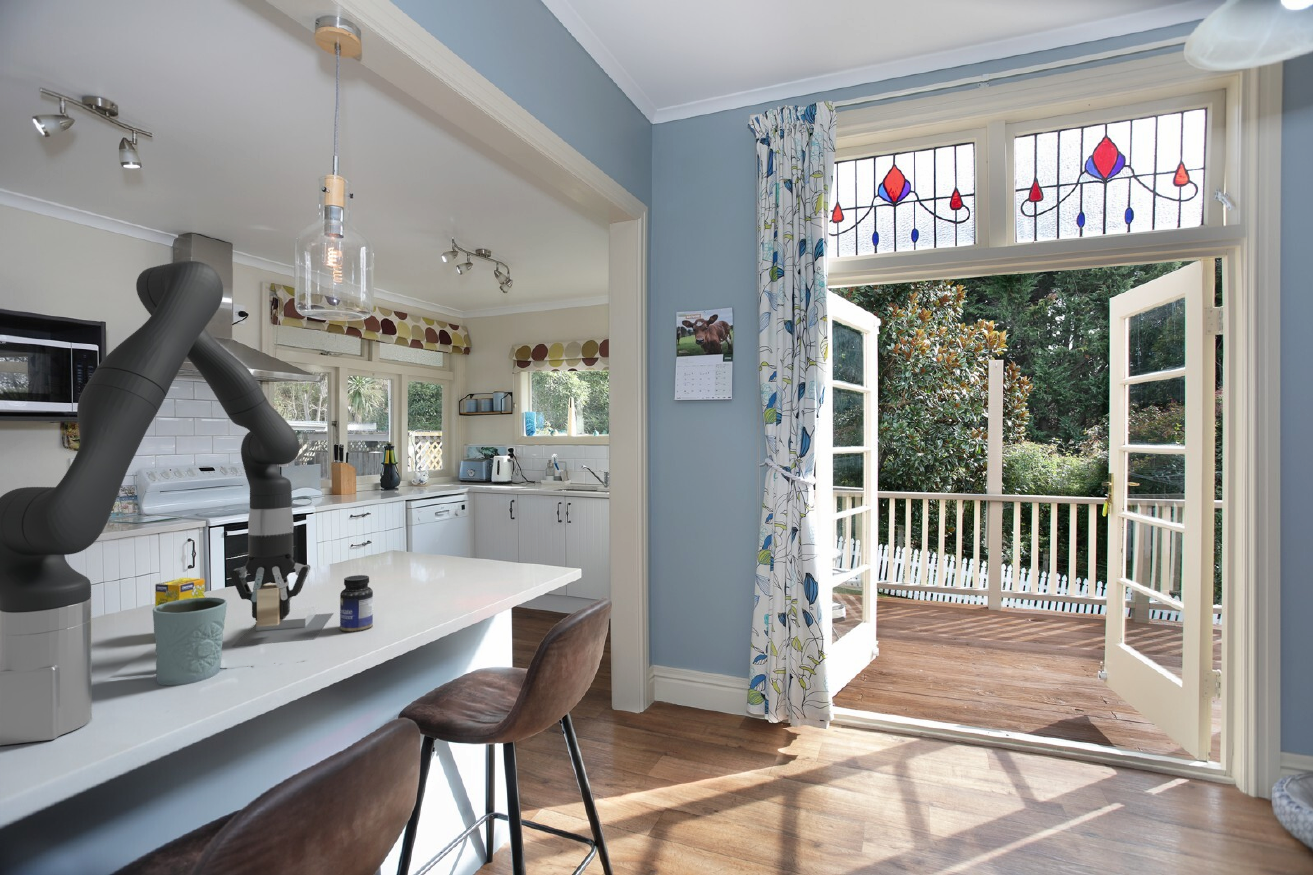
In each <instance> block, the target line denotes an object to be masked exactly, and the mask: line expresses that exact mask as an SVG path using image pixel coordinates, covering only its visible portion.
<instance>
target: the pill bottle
mask: <svg viewBox="0 0 1313 875" xmlns="http://www.w3.org/2000/svg"><path fill="white" fill-rule="evenodd" d="M369 583H370V577H369V576H368V575H365V574H361V575H360V574H357V575H350V576H347V577H344V578H343V585H344V586H345V587H344V589H343V590H342V591H341V592H340V594H339V604H340V605H339V631H340V632H341V633H346V634H348V633H349V634H351V633H359V632H365V631H368V630H370V629H372V628H374V625H373V624H374V620H373V618H374V616H373V615H374V614H373V613H374V612H373V611H374V610H373V608H374V607H373V606H374V604H373V603H374V600H373V598H374V590H373V588H371V587H369Z"/></svg>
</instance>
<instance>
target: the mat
mask: <svg viewBox="0 0 1313 875" xmlns="http://www.w3.org/2000/svg"><path fill="white" fill-rule="evenodd" d="M333 615H334V612H331V613H319V614H316V613H315V616H314V618H313V619H312V620H311V621H310V622H309V624H308V625H307V626H306V627H302V628H289V629H276V630H263V631H256V624H255V625H253V626H252V627H251V628H250V629H249V630H248V631H247V632H246V633H245V634H244V635H243V636H241V637H240V638H239V639H238V640H237V641H236V642H234V643H233V644H232V647H241V646H243V647H244V646H251V645H252V646H254V645H266V644H267V645H268V644H278V643H289V642H299V641H300V642H301V641H311V640H316V638H317V637H318V635H319V634H320V633H321V631H322V630H323V629H324V627H325V626H326V624H327V623H328V621H329V620H330V619H331V618H332V616H333Z"/></svg>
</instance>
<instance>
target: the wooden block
mask: <svg viewBox="0 0 1313 875" xmlns="http://www.w3.org/2000/svg"><path fill="white" fill-rule="evenodd" d="M294 597H295V596H293V597H291V598H290V601H291V600H293V598H294ZM280 600H281V597H280V594H279V588H277V585H276V583H267V584H266V585H265V586H263V587H262V588H261V589H258V590H257V621H256V622H257V627H260V626H273V625H278V624H279V623H280V622H281V621H282V620H283V619H280Z"/></svg>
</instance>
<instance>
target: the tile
mask: <svg viewBox="0 0 1313 875" xmlns="http://www.w3.org/2000/svg"><path fill="white" fill-rule="evenodd" d="M315 615H316V607H315V606H314V607H299V608H290V612H289V614H288V615H287V616H286V618H285V619H283V620H282V621H281V622H280V623H279V624H278V625H273V626H260V627H257V621H255V625H256V631H263V630H276V629H289V628H302V627H306V626H307V625H308V624H309V622H310V621H311V620H312V619H313V618H314V616H315Z"/></svg>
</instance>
